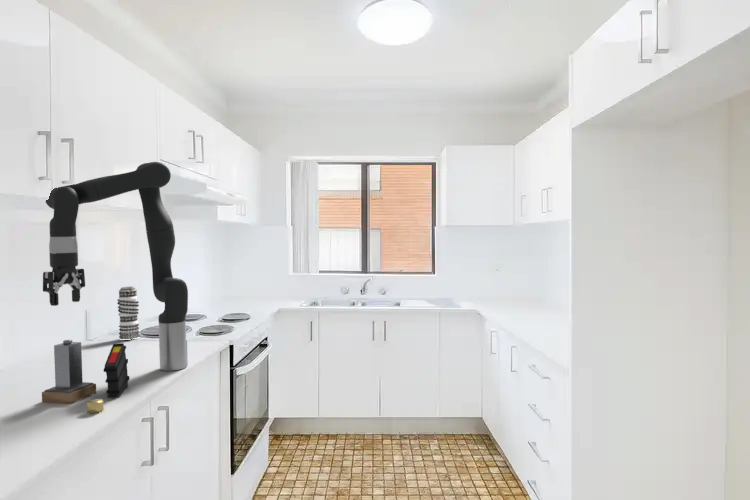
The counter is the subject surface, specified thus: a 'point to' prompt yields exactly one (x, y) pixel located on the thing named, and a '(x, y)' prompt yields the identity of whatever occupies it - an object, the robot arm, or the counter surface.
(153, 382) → the counter surface
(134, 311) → the decorative candle
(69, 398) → the stand
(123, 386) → the black ridged block
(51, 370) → the counter surface
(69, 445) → the counter surface
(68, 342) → the block
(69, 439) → the counter surface
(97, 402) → the short brass cylinder
